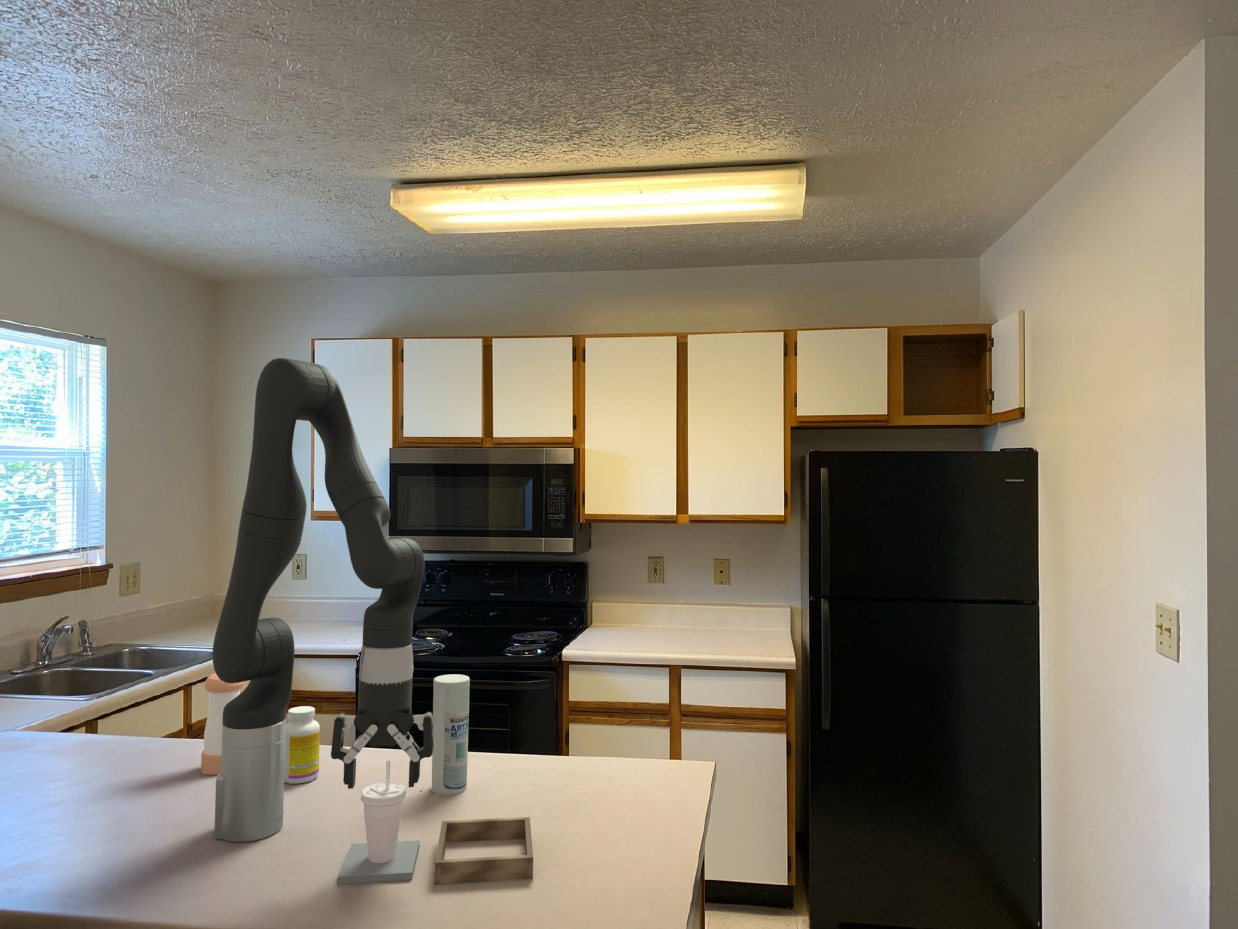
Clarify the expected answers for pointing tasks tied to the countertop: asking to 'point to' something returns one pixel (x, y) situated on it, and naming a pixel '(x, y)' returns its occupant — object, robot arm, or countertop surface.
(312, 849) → the countertop surface
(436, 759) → the spray can
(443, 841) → the frame
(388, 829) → the smoothie
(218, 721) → the salt shaker
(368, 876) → the mat
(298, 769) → the supplement bottle
